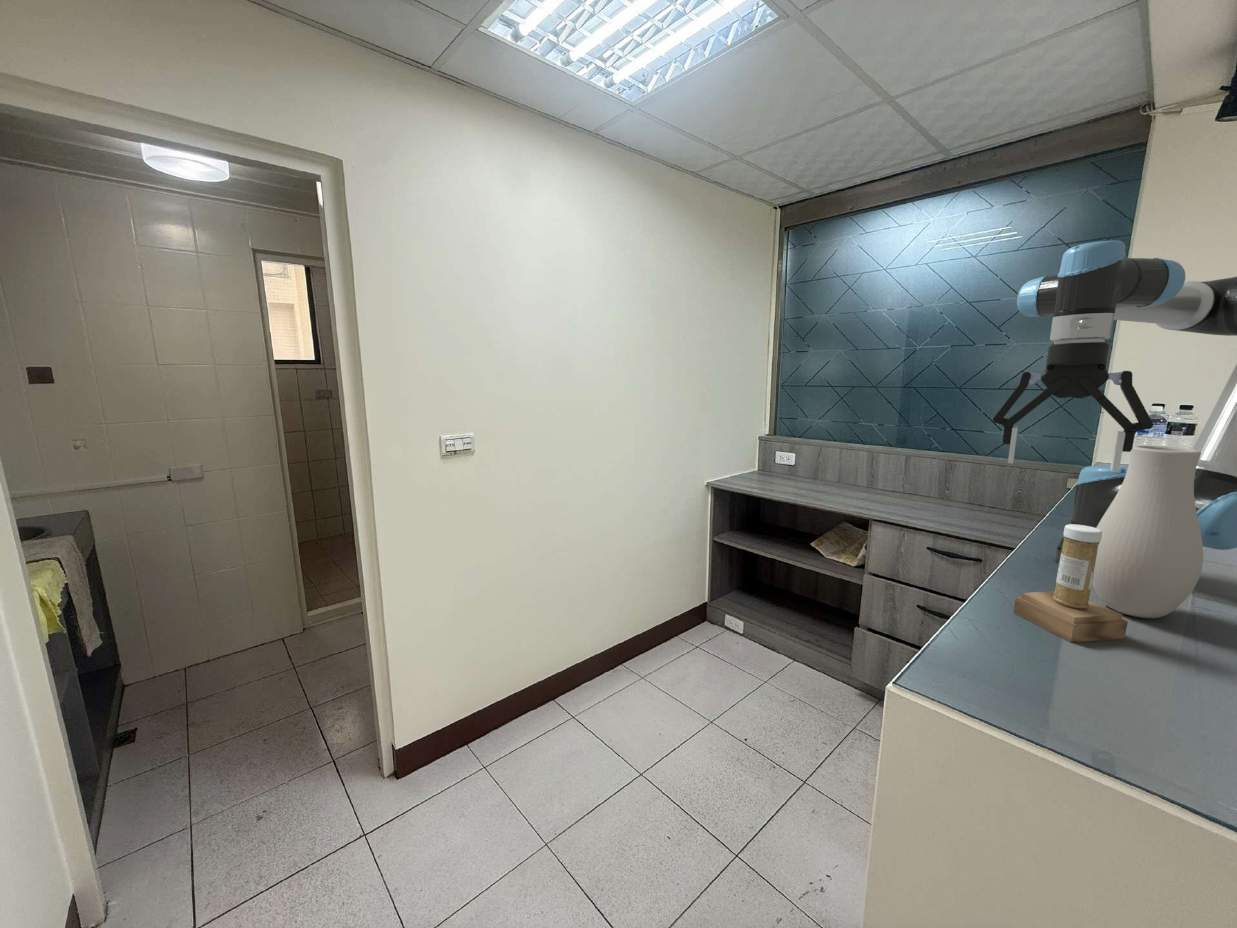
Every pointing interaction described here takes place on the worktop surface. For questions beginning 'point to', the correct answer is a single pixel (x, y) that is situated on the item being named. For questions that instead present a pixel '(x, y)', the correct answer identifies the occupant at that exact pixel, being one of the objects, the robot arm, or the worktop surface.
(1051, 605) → the pedestal
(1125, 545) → the vase
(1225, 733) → the worktop surface
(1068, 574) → the sprinkles bottle
